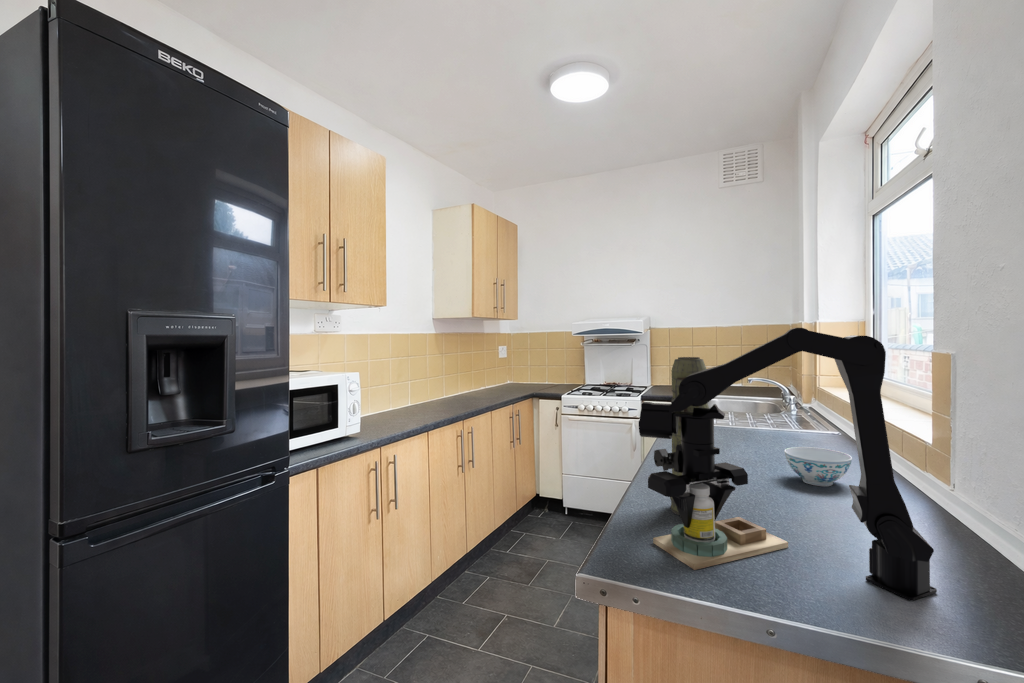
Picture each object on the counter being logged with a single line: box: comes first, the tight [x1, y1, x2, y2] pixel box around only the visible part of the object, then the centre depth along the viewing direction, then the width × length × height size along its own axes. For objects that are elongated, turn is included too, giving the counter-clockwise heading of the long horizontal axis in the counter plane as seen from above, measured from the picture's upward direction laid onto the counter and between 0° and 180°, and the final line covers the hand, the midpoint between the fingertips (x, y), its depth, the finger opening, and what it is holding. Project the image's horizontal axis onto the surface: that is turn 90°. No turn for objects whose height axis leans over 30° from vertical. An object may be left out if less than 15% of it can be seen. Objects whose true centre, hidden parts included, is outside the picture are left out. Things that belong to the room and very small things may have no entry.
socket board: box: [652, 516, 789, 571], centre depth 86 cm, size 11×22×3 cm, turn 110°
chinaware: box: [784, 446, 853, 487], centre depth 121 cm, size 15×15×8 cm
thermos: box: [669, 356, 710, 516], centre depth 103 cm, size 9×12×35 cm
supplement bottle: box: [684, 483, 716, 543], centre depth 84 cm, size 5×5×10 cm
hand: (699, 524), depth 84 cm, fingers closed on supplement bottle, 5 cm apart
